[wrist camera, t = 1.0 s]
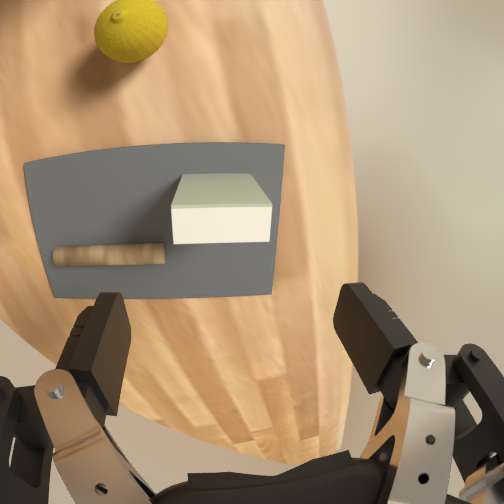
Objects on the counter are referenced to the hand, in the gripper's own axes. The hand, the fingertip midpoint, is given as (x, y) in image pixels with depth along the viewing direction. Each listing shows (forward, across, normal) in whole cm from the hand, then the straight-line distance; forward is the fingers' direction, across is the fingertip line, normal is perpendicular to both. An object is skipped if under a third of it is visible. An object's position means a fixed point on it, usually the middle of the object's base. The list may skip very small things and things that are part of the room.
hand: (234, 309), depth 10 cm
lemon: (+18, +7, -14) cm, 24 cm away
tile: (+17, 0, 0) cm, 17 cm away
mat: (+18, +7, +4) cm, 19 cm away
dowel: (+18, +11, +6) cm, 22 cm away
